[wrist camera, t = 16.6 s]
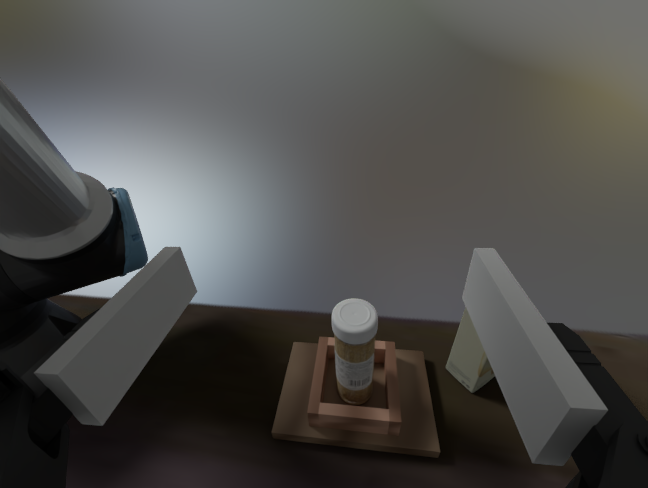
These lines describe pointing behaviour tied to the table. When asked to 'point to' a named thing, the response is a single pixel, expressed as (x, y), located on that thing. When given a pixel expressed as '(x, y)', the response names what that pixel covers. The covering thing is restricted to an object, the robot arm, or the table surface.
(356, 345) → the sprinkles bottle
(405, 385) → the collar plate
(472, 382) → the skincare box
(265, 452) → the table surface
